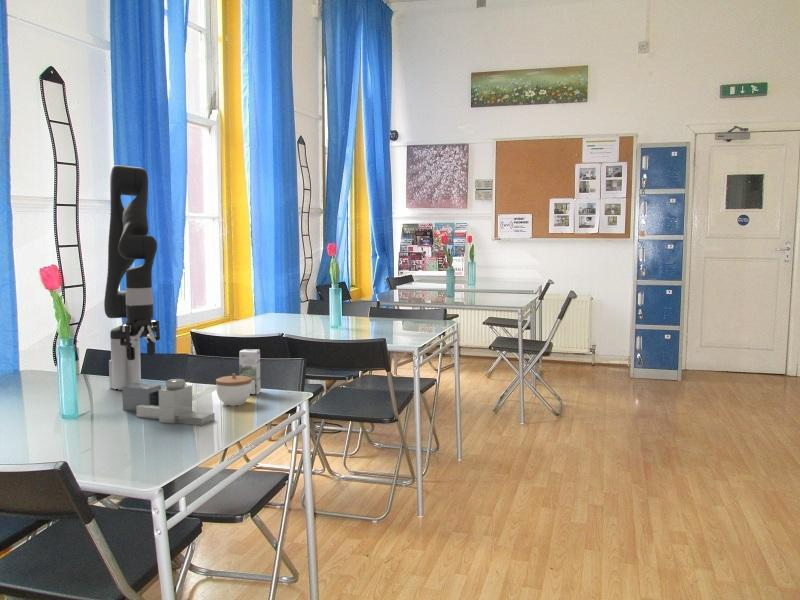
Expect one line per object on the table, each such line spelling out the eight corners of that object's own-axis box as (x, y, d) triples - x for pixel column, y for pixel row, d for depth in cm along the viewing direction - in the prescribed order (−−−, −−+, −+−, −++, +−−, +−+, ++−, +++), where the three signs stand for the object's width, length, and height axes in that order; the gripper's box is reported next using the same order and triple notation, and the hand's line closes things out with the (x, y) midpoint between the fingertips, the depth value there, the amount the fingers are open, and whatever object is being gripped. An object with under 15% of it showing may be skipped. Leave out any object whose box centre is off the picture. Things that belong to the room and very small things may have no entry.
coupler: (129, 419, 189) (128, 380, 188) (149, 412, 197) (148, 375, 196) (199, 426, 182) (198, 386, 181) (216, 419, 189) (215, 380, 188)
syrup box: (261, 391, 225) (260, 348, 224) (256, 395, 219) (256, 351, 218) (244, 391, 225) (243, 348, 224) (239, 395, 219) (238, 351, 218)
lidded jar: (211, 407, 203) (211, 376, 202) (222, 399, 214) (221, 370, 213) (247, 408, 203) (246, 377, 202) (255, 399, 213) (255, 370, 213)
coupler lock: (120, 409, 200) (120, 386, 200) (135, 405, 206) (134, 382, 205) (147, 412, 197) (147, 388, 196) (161, 407, 203) (161, 384, 202)
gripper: (145, 301, 207) (147, 353, 208) (111, 304, 193) (113, 360, 195) (166, 301, 204) (167, 354, 206) (133, 305, 191) (134, 362, 192)
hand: (141, 357), depth 200 cm, fingers open, 8 cm apart
